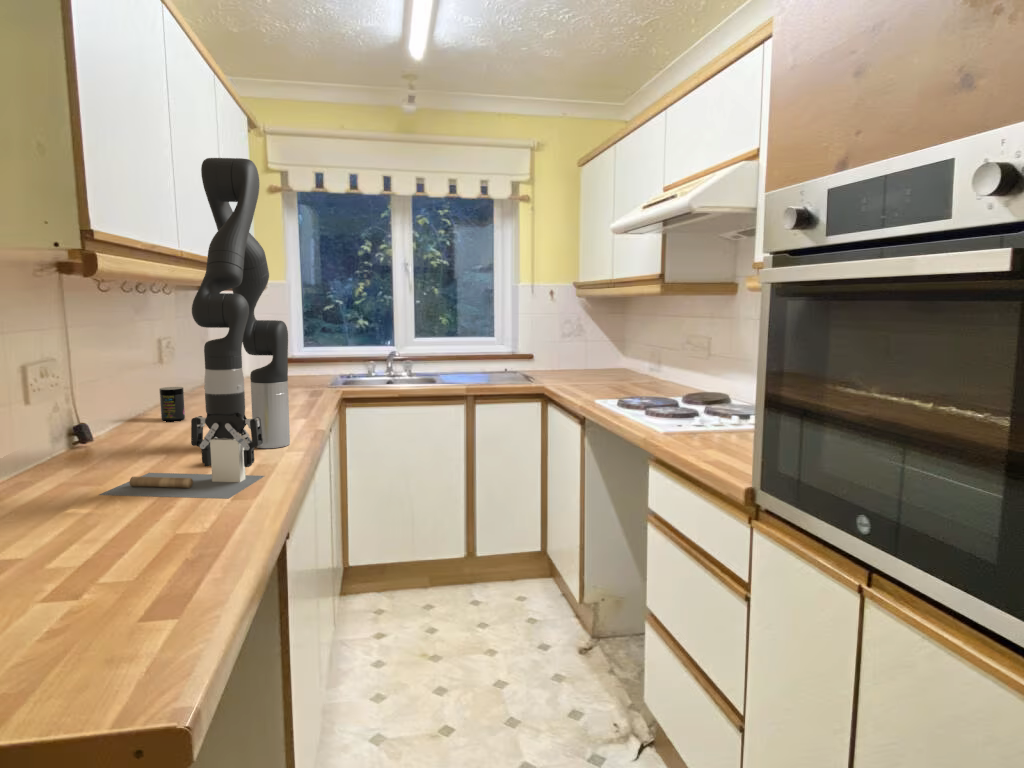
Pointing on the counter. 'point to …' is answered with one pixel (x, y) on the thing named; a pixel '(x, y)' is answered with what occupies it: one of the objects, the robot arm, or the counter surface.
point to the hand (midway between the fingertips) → (228, 465)
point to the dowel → (161, 482)
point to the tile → (227, 460)
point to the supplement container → (172, 404)
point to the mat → (199, 489)
